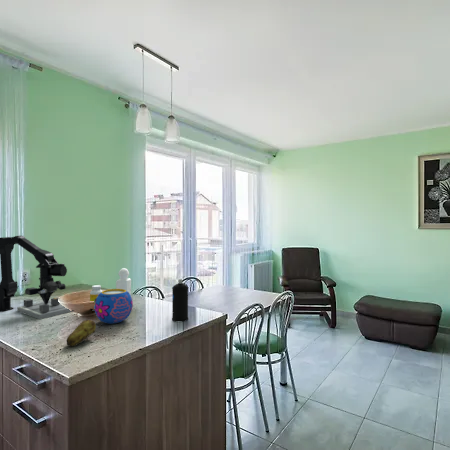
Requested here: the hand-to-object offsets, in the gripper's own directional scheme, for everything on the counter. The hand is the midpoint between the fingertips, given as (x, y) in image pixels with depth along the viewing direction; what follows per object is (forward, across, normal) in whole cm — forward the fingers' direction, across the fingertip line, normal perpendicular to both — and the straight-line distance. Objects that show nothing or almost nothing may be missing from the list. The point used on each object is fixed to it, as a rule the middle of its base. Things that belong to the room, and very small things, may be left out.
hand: (46, 304), depth 169 cm
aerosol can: (+3, +32, -69) cm, 76 cm away
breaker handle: (+1, +5, 0) cm, 5 cm away
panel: (+3, 0, 0) cm, 3 cm away
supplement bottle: (+4, +18, -19) cm, 26 cm away
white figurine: (+4, +30, -27) cm, 40 cm away
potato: (+4, -13, -57) cm, 59 cm away
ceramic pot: (+4, +10, -46) cm, 47 cm away
